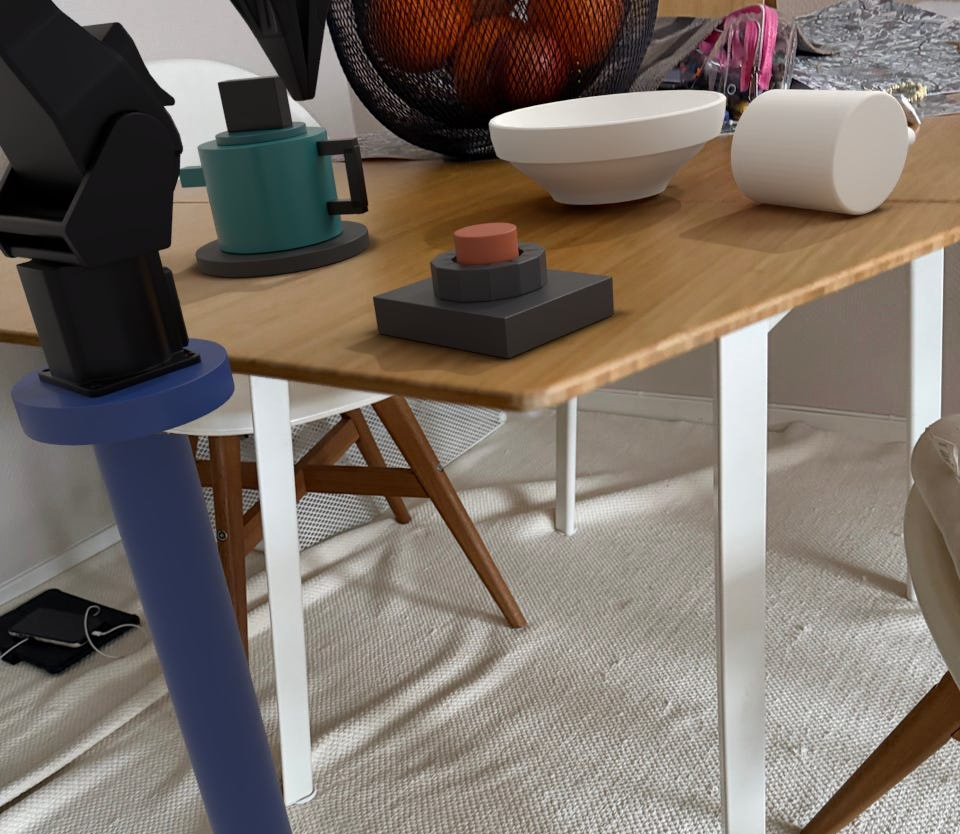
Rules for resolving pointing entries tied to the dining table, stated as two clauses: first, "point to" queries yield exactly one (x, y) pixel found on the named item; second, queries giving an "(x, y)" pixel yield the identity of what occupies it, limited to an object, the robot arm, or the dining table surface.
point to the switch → (486, 243)
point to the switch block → (494, 304)
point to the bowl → (608, 142)
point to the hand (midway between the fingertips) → (304, 100)
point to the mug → (821, 149)
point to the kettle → (273, 173)
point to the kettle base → (283, 255)
